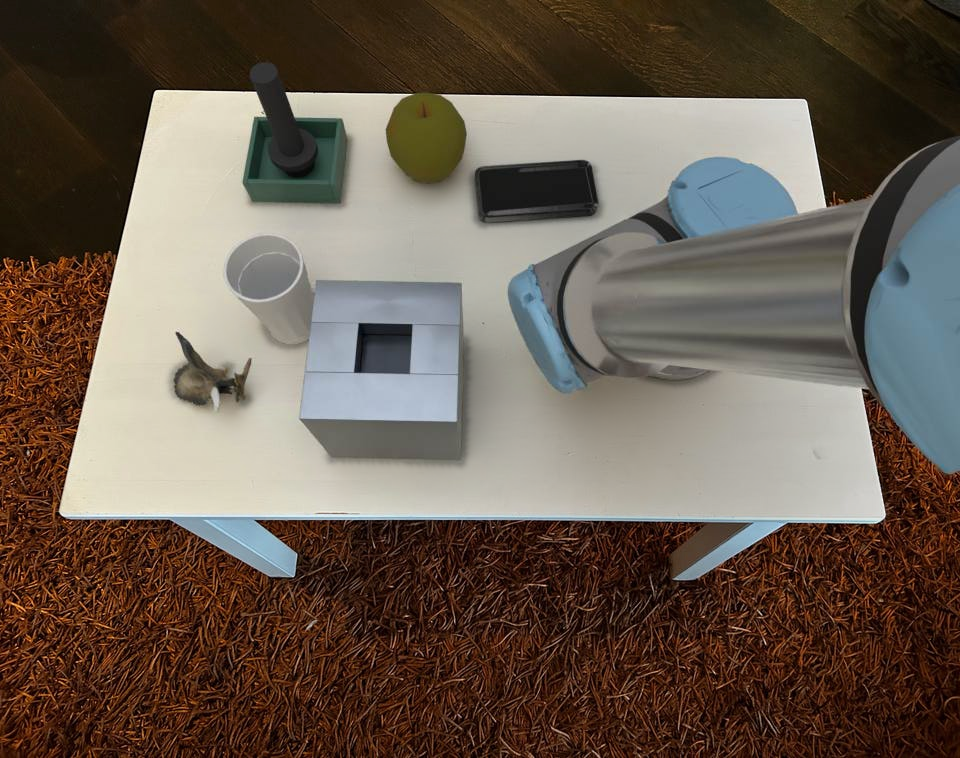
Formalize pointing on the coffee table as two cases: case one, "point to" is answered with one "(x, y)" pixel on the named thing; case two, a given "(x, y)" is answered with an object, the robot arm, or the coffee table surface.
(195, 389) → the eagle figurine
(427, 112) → the apple
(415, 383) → the square hole box
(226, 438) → the coffee table surface
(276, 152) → the plug
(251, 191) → the green open tray
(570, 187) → the phone
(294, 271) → the cup
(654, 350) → the robot arm
